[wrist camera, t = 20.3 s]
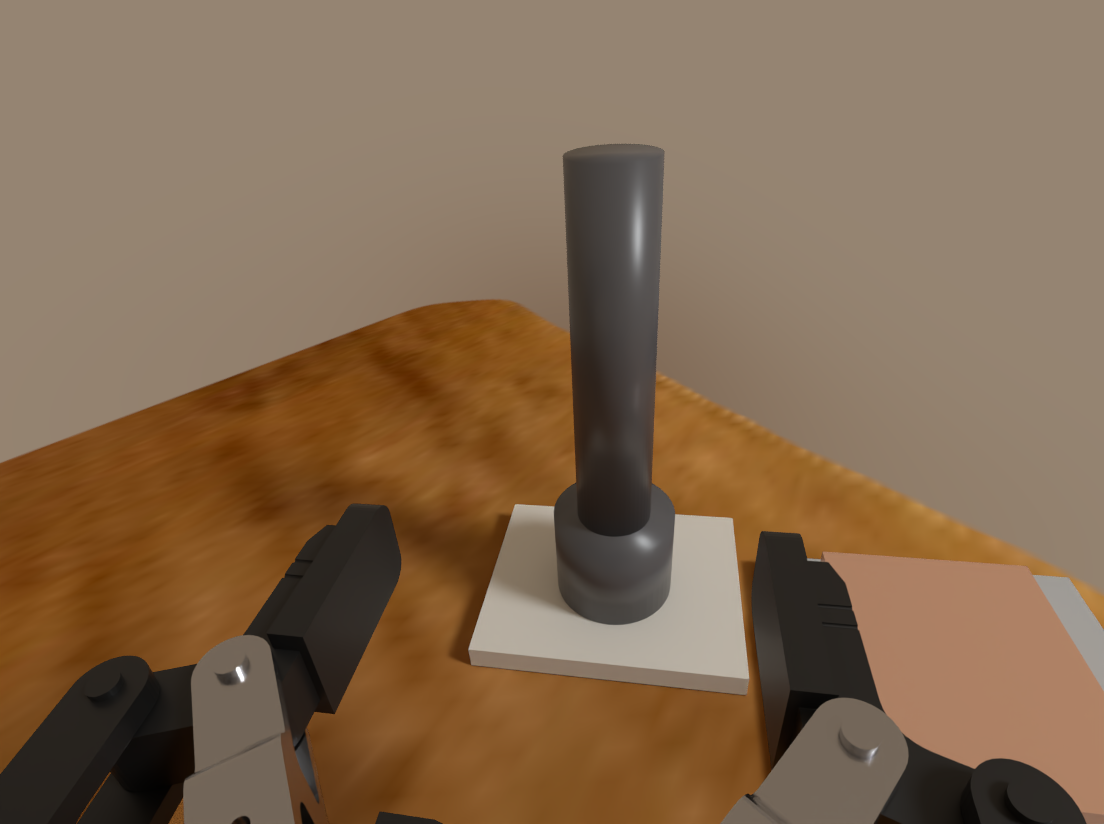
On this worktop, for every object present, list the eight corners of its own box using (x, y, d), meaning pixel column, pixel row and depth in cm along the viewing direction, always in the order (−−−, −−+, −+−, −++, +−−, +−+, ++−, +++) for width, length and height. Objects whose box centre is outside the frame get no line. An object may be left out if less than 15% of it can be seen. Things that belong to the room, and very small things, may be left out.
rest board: (471, 664, 26) (468, 649, 26) (517, 518, 34) (515, 504, 33) (746, 695, 25) (749, 679, 24) (730, 533, 32) (732, 518, 31)
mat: (802, 915, 19) (806, 907, 18) (755, 564, 30) (756, 554, 30) (1335, 1003, 16) (1349, 995, 16) (1063, 587, 28) (1068, 577, 28)
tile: (883, 786, 19) (822, 551, 28) (873, 811, 20) (817, 576, 29) (1186, 825, 18) (1027, 566, 26) (1162, 850, 19) (1015, 591, 27)
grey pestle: (549, 618, 27) (512, 173, 17) (566, 536, 31) (545, 140, 21) (669, 630, 26) (701, 170, 16) (671, 544, 30) (697, 136, 21)
